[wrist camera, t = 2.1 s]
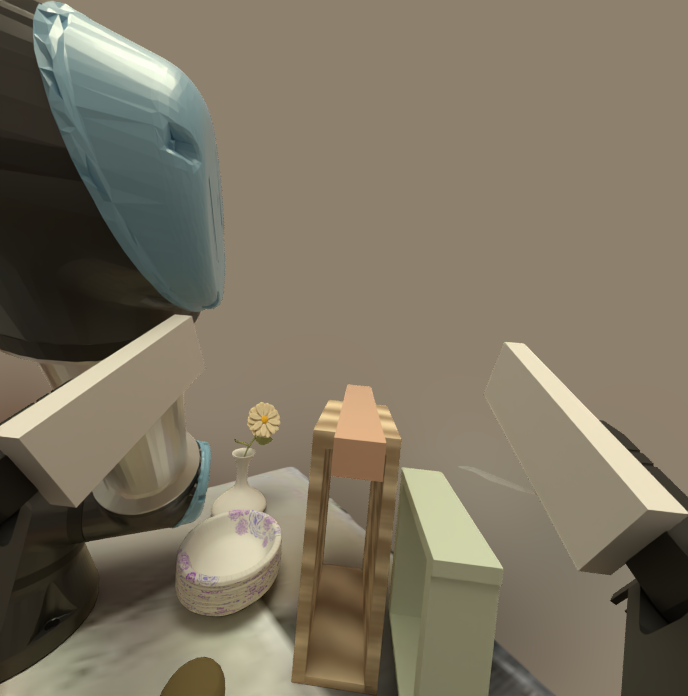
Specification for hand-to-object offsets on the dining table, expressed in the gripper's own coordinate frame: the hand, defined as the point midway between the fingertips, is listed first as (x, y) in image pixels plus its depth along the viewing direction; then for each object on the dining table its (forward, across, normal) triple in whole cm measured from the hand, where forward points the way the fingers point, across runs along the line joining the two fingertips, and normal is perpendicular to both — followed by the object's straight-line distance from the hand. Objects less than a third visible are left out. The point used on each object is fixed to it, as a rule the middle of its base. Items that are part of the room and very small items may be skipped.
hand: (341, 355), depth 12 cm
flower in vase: (+21, -22, -58) cm, 65 cm away
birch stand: (+4, +1, -48) cm, 48 cm away
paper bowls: (+6, -16, -49) cm, 52 cm away
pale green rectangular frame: (-1, +12, -45) cm, 46 cm away
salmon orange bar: (+14, +1, -19) cm, 24 cm away
